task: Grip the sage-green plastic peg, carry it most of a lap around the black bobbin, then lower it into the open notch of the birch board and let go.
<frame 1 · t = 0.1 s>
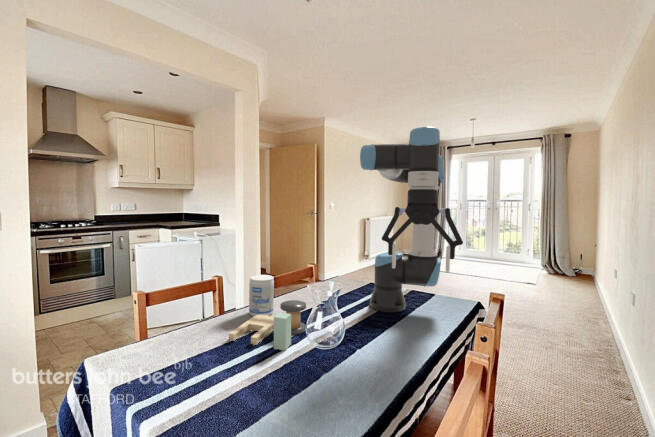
hand: (419, 269, 83), 28 cm above the table, tool pointing down, fingers open, 13 cm apart
notched board: (256, 331, 109), on the table
supplement tub: (261, 314, 126), on the table
bobbin: (293, 329, 111), on the table
peg: (282, 346, 98), on the table
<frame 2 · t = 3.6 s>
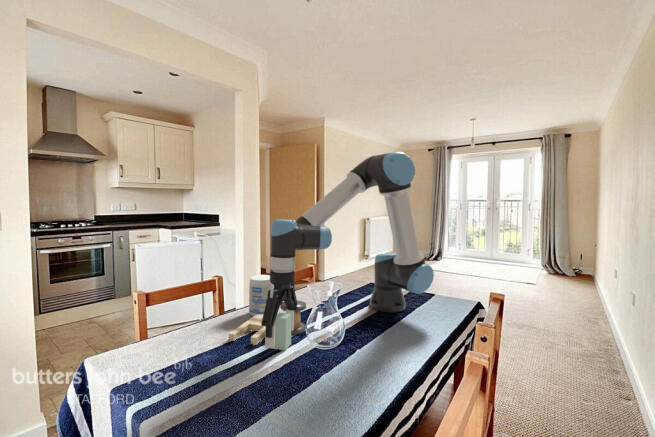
hand: (280, 338, 97), 3 cm above the table, tool pointing down, fingers open, 13 cm apart
nothing on the table moved.
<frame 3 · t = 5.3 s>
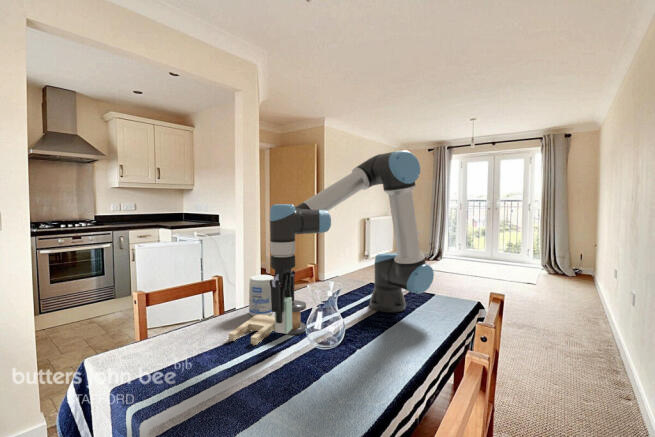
hand: (283, 328, 98), 6 cm above the table, tool pointing down, fingers closed on peg, 4 cm apart
peg: (283, 330, 98), point 5 cm above the table, touching gripper
everything else where it was.
when the fingers open (3 cm above the table, at t = 11.7 s): peg drops 2 cm, resting in notched board.
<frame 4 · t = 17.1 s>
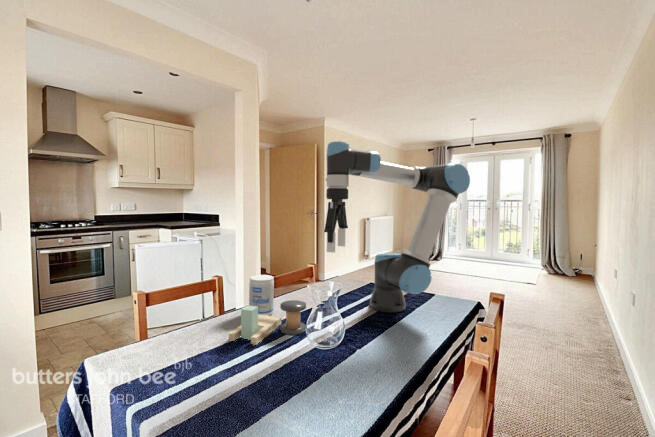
hand: (336, 249, 110), 29 cm above the table, tool pointing down, fingers open, 13 cm apart
peg: (249, 337, 105), resting in notched board
everything else where it was.
at the end: peg 0.5 cm from the target spot on the notched board, point 0.0 cm above the notched board's base; peg tilted 0°; the gripper is holding nothing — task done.
